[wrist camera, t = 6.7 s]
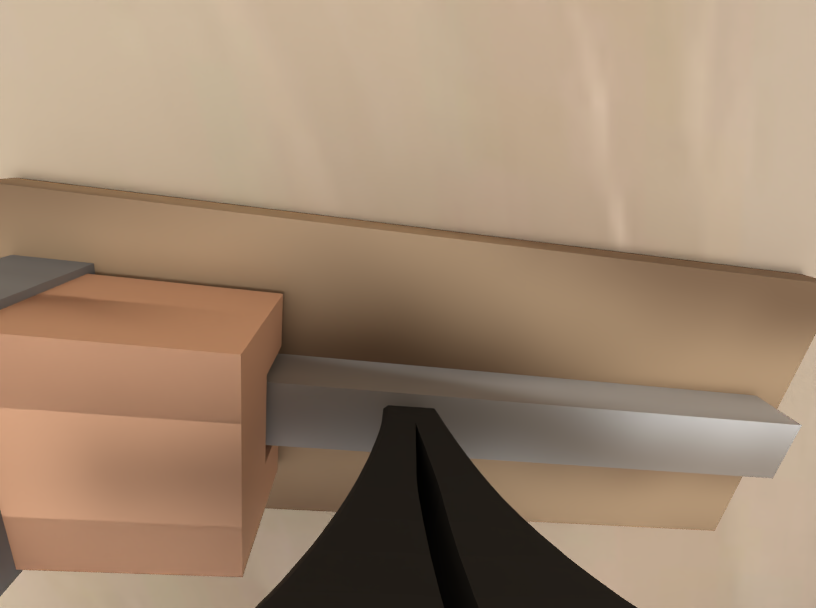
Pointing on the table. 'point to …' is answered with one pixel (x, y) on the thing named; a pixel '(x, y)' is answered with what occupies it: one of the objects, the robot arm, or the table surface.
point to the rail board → (464, 348)
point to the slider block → (136, 426)
